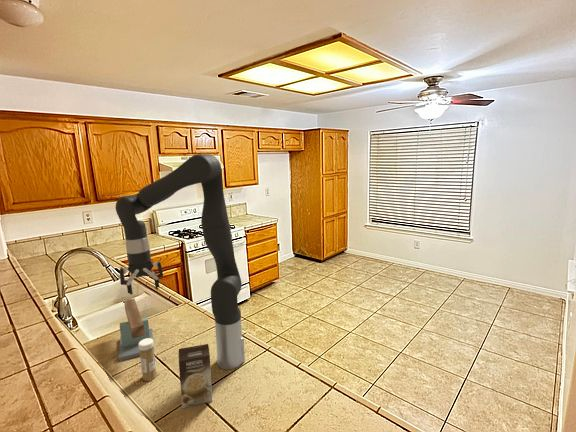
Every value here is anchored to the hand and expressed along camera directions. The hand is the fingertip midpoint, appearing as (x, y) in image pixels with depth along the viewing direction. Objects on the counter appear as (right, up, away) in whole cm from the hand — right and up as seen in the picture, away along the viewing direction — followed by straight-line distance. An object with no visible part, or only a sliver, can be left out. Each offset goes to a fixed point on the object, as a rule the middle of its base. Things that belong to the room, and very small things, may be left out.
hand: (144, 291), depth 112 cm
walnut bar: (-7, -14, +7) cm, 17 cm away
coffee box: (+26, -29, -19) cm, 43 cm away
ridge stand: (-7, -24, +8) cm, 26 cm away
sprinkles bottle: (+6, -27, -9) cm, 30 cm away
